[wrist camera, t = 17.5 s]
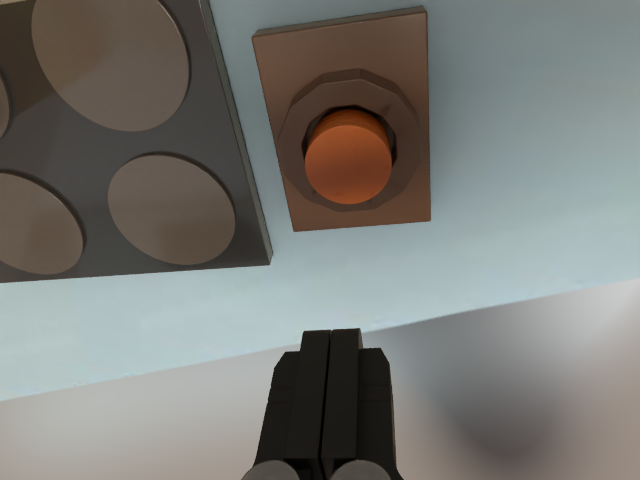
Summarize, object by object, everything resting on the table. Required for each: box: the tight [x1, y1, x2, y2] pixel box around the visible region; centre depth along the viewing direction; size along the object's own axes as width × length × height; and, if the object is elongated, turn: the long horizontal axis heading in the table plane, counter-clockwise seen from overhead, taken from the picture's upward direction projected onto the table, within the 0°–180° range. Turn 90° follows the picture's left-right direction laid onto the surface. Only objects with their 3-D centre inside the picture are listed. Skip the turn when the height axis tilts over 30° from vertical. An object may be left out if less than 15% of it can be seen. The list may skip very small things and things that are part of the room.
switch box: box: [252, 6, 431, 232], centre depth 24 cm, size 11×8×3 cm
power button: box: [305, 109, 392, 204], centre depth 22 cm, size 4×4×2 cm
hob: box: [0, 0, 273, 283], centre depth 27 cm, size 18×20×2 cm
